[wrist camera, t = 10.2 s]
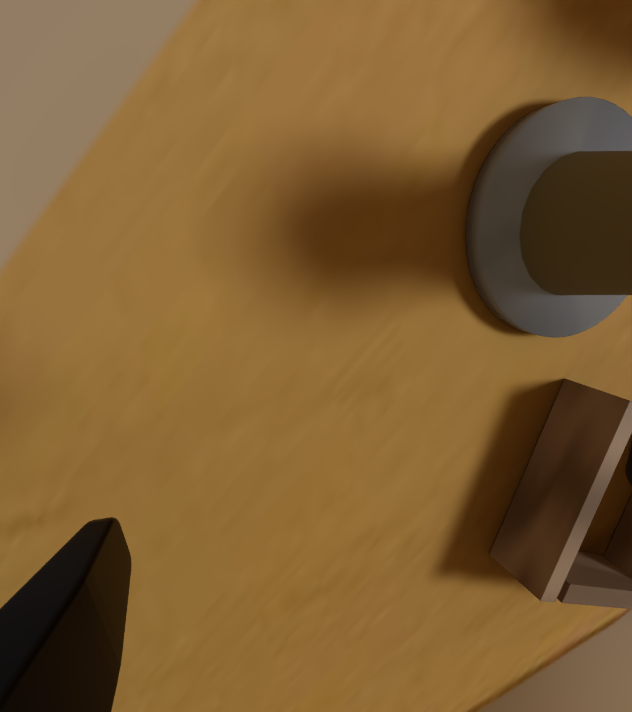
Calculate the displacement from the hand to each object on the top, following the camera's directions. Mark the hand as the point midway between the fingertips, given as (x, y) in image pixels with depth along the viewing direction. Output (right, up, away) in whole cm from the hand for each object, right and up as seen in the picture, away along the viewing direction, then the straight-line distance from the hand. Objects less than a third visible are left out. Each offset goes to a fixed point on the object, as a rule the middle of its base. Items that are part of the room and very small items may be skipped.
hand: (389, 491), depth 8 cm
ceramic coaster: (+10, +8, +14) cm, 19 cm away
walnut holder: (+14, -5, +19) cm, 24 cm away
